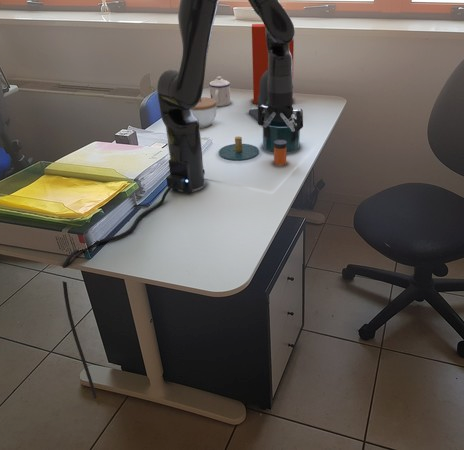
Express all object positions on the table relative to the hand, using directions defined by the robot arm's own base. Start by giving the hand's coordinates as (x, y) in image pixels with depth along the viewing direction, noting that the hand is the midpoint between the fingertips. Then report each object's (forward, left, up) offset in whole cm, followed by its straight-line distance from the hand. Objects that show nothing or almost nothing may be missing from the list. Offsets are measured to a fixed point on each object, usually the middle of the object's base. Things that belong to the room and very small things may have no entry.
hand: (280, 139), depth 147 cm
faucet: (+42, +20, -8) cm, 47 cm away
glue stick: (0, 0, -8) cm, 8 cm away
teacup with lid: (+49, +49, -8) cm, 69 cm away
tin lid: (+2, +16, -8) cm, 18 cm away
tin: (+13, +5, -8) cm, 16 cm away
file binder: (+62, +29, -8) cm, 69 cm away
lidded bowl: (+23, +43, -8) cm, 49 cm away
